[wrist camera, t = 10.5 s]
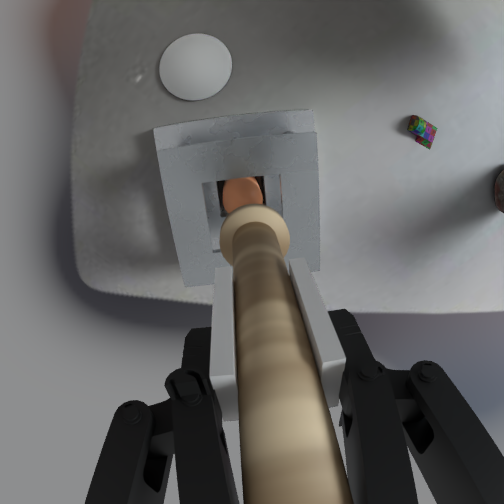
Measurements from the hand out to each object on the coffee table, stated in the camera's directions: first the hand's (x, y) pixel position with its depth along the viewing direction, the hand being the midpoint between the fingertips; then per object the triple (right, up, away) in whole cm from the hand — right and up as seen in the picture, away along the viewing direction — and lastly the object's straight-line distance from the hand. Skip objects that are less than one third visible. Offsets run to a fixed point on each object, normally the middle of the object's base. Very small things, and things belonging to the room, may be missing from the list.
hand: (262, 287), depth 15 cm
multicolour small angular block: (+19, +16, +15) cm, 29 cm away
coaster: (-6, +19, +11) cm, 23 cm away
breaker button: (-2, +8, +16) cm, 18 cm away
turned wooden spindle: (0, +3, +5) cm, 6 cm away
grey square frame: (-2, +8, +17) cm, 19 cm away
